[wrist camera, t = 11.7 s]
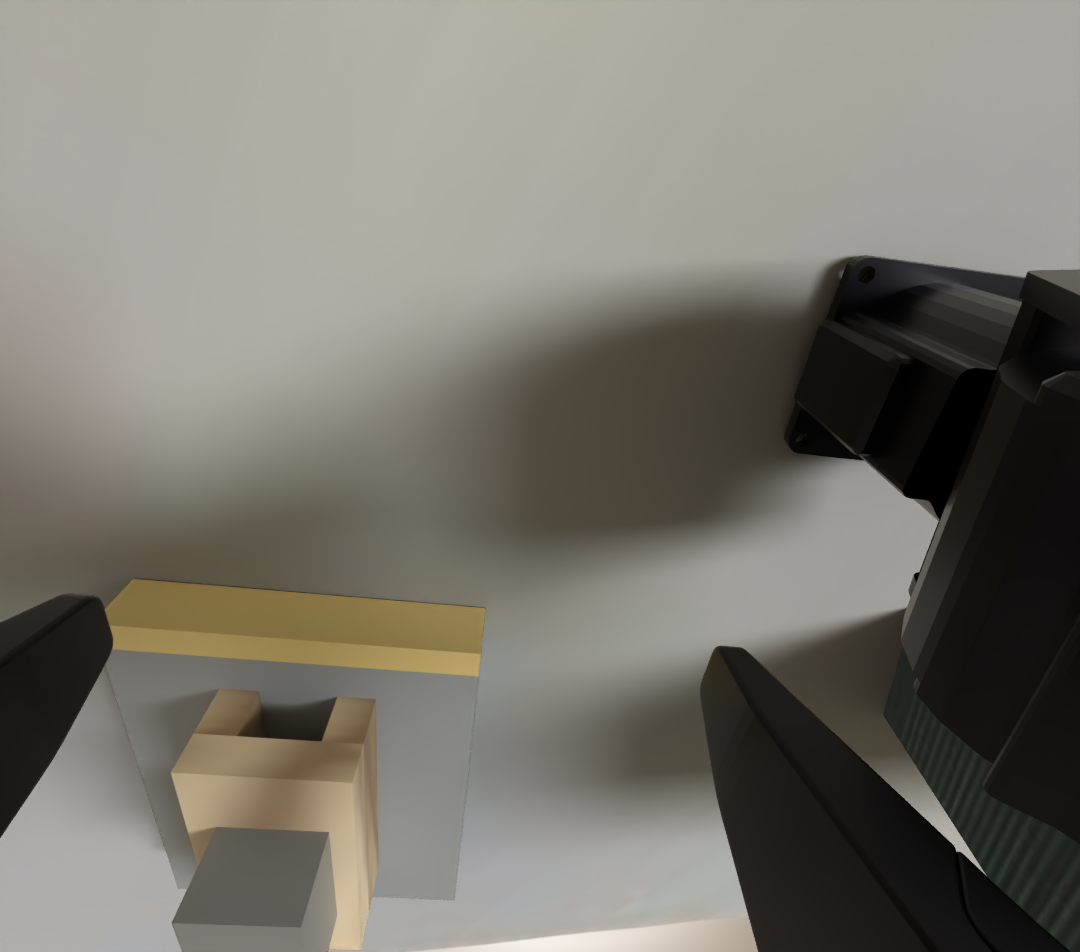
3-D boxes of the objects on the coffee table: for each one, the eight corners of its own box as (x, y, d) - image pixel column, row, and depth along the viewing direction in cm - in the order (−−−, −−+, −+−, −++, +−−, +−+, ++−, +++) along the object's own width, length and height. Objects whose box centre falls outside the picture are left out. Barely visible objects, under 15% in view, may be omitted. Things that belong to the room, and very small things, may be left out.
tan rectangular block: (376, 699, 23) (352, 782, 20) (378, 865, 29) (360, 950, 25) (219, 688, 22) (170, 772, 19) (254, 859, 28) (220, 945, 25)
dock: (485, 608, 24) (481, 653, 22) (459, 850, 32) (454, 901, 30) (133, 578, 23) (90, 624, 21) (202, 837, 31) (177, 889, 29)
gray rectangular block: (328, 832, 21) (301, 927, 18) (337, 914, 24) (313, 1008, 21) (216, 827, 21) (171, 923, 18) (238, 911, 24) (202, 1005, 21)
